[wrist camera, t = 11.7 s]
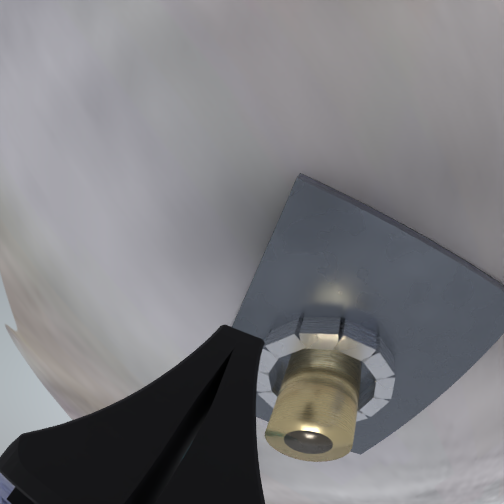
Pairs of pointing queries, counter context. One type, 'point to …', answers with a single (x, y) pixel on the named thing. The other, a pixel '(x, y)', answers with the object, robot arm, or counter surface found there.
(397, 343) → the jig plate
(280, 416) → the brass bushing
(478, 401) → the counter surface
